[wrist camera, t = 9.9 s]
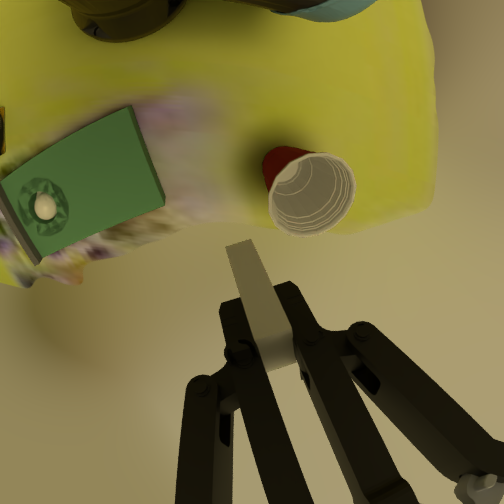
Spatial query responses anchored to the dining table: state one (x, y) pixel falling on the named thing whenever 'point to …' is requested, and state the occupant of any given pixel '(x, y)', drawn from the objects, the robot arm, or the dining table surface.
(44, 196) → the ball
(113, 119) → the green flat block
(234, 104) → the dining table surface
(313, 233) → the plastic cup
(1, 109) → the medicine bottle
